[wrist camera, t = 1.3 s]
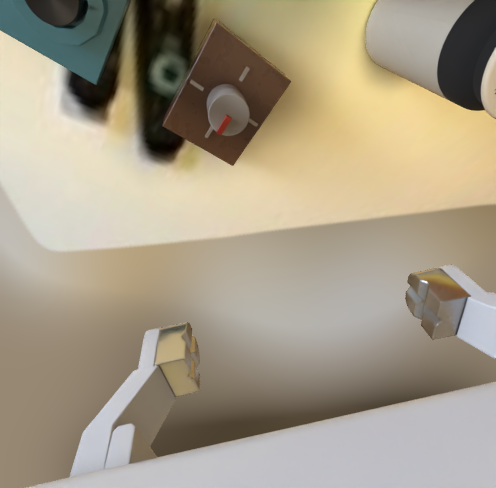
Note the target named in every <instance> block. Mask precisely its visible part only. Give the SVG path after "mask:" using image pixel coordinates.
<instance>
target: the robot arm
mask: <svg viewBox="0 0 496 488" xmlns="http://www.w3.org/2000/svg"><path fill="white" fill-rule="evenodd" d="M408 283H409V285H410V287H409V289H408V290H407V291H406V298H405V299H406V303H407V306H408V308H409V310H410V312H411V313H412V314H413V316H415V317H417V318H419V319H421V320H422V321H421V326H422V327H423V328H424V330H425V331H426V332H427V333H428V335H429V336H430V337H431V339H433V340H434V339H439V338H444V337H450V336H455V335H457V337H458V338H460V339H462V340H463V341H466V342H467V343H469V344H471V345H472V346H474V347H476V348H477V349H479V350H481V351H482V352H484V353H486V354H488V355H489V356H491V357H493V358H495V359H496V294H495V293H492V292H490V293H486V292H485V291H484V290H483V289H482V288H481V287H480V286H478V285H477V284H476V283H475V282H474V281H473V280H471V279H470V278H469V277H468V276H467V275H466V274H465V273H463V272H462V271H461V270H460V269H459V268H458V267H456V266H455V265H452V264H451V265H447V266H442V267H438V268H434V269H429V270H425V271H420V272H416V273H411V274H410V275H409V277H408ZM199 363H200V360H199V349H198V345H197V341H196V338H195V337H194V336H192V328H191V326H190V324H189V323H188V322H187V323H182V324H176V325H171V326H166V327H161V328H157V329H152V330H147V331H146V333H145V335H144V341H143V346H142V352H141V357H140V362H139V367H138V370H135V371H133V372H132V374H131V375H130V376H129V377H128V379H127V380H126V381H125V382H124V383H123V384H122V386H121V387H120V388H119V389H118V390H117V392H116V393H115V394H114V395H113V397H112V398H111V399H110V400H109V401H108V403H107V404H106V405H105V407H104V408H103V409H102V410H101V411H100V412H99V414H98V415H97V416H96V417H95V418H94V420H93V421H92V422H91V423H90V425H89V426H88V427H87V428H86V429H85V431H84V432H83V434H82V437H81V441H80V444H79V447H78V451H77V454H76V458H75V461H74V464H73V467H72V471H71V474H70V477H69V478H64V479H60V480H55V481H51V482H47V483H42V484H37V485H33V486H28V487H24V488H496V382H492V383H488V384H483V385H478V386H474V387H469V388H465V389H461V390H457V391H452V392H447V393H443V394H438V395H434V396H429V397H425V398H421V399H416V400H412V401H407V402H404V403H399V404H394V405H390V406H385V407H381V408H377V409H372V410H367V411H363V412H358V413H354V414H349V415H345V416H341V417H336V418H332V419H327V420H323V421H319V422H314V423H310V424H305V425H301V426H297V427H292V428H287V429H283V430H279V431H274V432H269V433H265V434H260V435H256V436H252V437H247V438H243V439H238V440H234V441H230V442H225V443H220V444H216V445H212V446H207V447H203V448H198V449H194V450H190V451H185V452H180V453H176V454H171V455H167V456H163V457H158V458H157V457H156V455H155V454H154V452H153V451H152V449H151V448H150V445H151V444H152V442H153V440H154V438H155V436H156V434H157V433H158V431H159V429H160V427H161V425H162V423H163V422H164V420H165V418H166V416H167V414H168V412H169V410H170V409H171V407H172V405H173V403H174V401H175V399H176V398H175V397H179V396H182V395H187V394H191V393H195V392H198V391H199V389H200V388H199V385H200V383H199V382H200V380H199V379H200V377H199V376H200V374H199V372H198V369H197V366H198V365H199Z"/></svg>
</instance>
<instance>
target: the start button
mask: <svg viewBox="0 0 496 488" xmlns="http://www.w3.org/2000/svg"><path fill="white" fill-rule="evenodd" d="M25 2H26V4H27V5H28V7H29V8H30V10H31V11H32V12H33V13H34V14H35V15H36V16H37V17H38V18H39V19H41V20H42V21H44V22H46V23H48V24H50V25H53V26H67V25H69V24H71V23H74V22H76V21H77V20H78V19H79V18H80V17H81V15H82V13H83V10H84V0H25Z"/></svg>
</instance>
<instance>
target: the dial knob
mask: <svg viewBox="0 0 496 488" xmlns="http://www.w3.org/2000/svg"><path fill="white" fill-rule="evenodd" d="M207 112H208V119H209V122H210V125H211V126H212V128H213V129H214V130H215V131H216V133H218V134H219V135H225V136H233V135H236V134H238V133H240V132H241V131H243V130H244V129H245V127H246V126H247V124H248V121H249V117H250V112H249V108H248V105H247V103H246V101H245V98H244V96H243V94H242V92H241V91H240V90H239V89H238V88H237V87H235V86H233V85H231V84H221V85H218V86H216V87H215V88H214V89H212V91H211V92H210V93H209V95H208V98H207Z"/></svg>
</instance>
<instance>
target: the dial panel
mask: <svg viewBox="0 0 496 488" xmlns="http://www.w3.org/2000/svg"><path fill="white" fill-rule="evenodd" d="M290 83H291V81H290V80H289V79H288V78H287V77H286V75H285V74H283V73H282V72H281V71H280V70H278V69H277V68H276V67H275V66H273V65H272V64H271V63H270V62H268V61H267V60H266V59H265V58H263V57H262V56H261V55H260V54H258V53H257V52H256V51H255V50H253V49H252V48H251V47H250V46H248V45H247V44H246V43H245V42H243V41H242V40H241V39H240V38H238V37H237V36H236V35H235V34H233V33H232V32H231V31H230V30H228V29H227V28H226V27H225V26H223V25H222V24H221V23H220V22H218V21H217V20H216V19H214V20H213V22H212V24H211V26H210V28H209V30H208V32H207V34H206V36H205V38H204V40H203V41H202V43H201V45H200V47H199V49H198V51H197V53H196V55H195V57H194V59H193V61H192V63H191V65H190V67H189V69H188V71H187V73H186V75H185V77H184V79H183V80H182V82H181V84H180V86H179V88H178V90H177V92H176V94H175V96H174V98H173V100H172V102H171V104H170V106H169V108H168V110H167V112H166V114H165V116H164V121H163V126H164V127H165V128H167V129H169V130H171V131H172V132H174V133H176V134H178V135H179V136H181V137H183V138H185V139H186V140H188V141H190V142H192V143H194V144H195V145H197V146H199V147H201V148H202V149H204V150H206V151H208V152H209V153H211V154H213V155H215V156H216V157H218V158H220V159H222V160H223V161H225V162H227V163H229V164H230V165H232V166H233V165H234V164H235V162H236V161H237V159H238V158H239V156H240V155H241V154H242V152H243V151H244V149H245V148H246V146H247V145H248V143H249V142H250V141H251V139H252V138H253V136H254V135H255V133H256V132H257V130H258V129H259V127H260V126H261V125H262V123H263V122H264V120H265V119H266V117H267V116H268V114H269V113H270V112H271V110H272V109H273V107H274V106H275V104H276V103H277V101H278V100H279V98H280V97H281V96H282V94H283V93H284V91H285V90H286V88H287V87H288V85H289V84H290ZM221 84H231V85H233V86H235V87H237V88H238V89H239V90H240V91H241V92H242V94H243V96H244V98H245V101H246V103H247V105H248V108H249V112H250V117H249V121H248V124H247V126H246V127H245V129H244V130H243V131H241V132H240V133H238V134H236V135H233V136H225V135H219V134H218V133H216V131H215V130H214V129H213V128H212V126H211V125H210V122H209V119H208V112H207V98H208V95H209V93H210V92H211V91H212V89H214V88H215V87H216V86H218V85H221Z"/></svg>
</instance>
